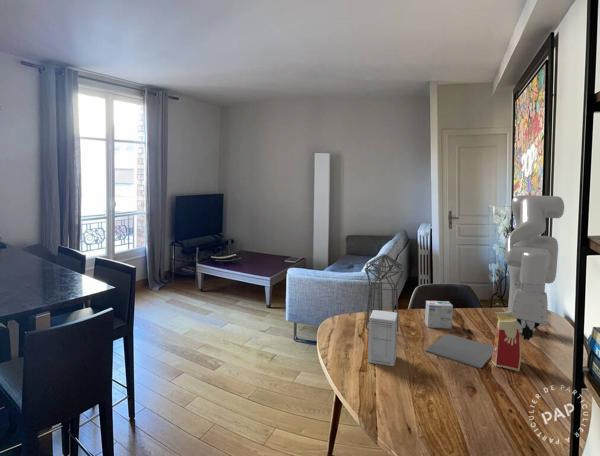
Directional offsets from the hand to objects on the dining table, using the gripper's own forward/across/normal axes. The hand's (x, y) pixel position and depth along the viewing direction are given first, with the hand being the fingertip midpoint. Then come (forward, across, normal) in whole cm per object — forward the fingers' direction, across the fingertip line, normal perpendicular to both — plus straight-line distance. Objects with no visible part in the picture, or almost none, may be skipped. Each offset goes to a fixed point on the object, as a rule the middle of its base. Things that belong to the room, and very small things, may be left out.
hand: (527, 338), depth 130 cm
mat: (+11, -21, 0) cm, 24 cm away
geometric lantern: (+11, -51, -8) cm, 53 cm away
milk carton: (+11, -6, 0) cm, 13 cm away
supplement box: (+11, -40, -28) cm, 50 cm away
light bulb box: (+11, -38, +19) cm, 44 cm away
